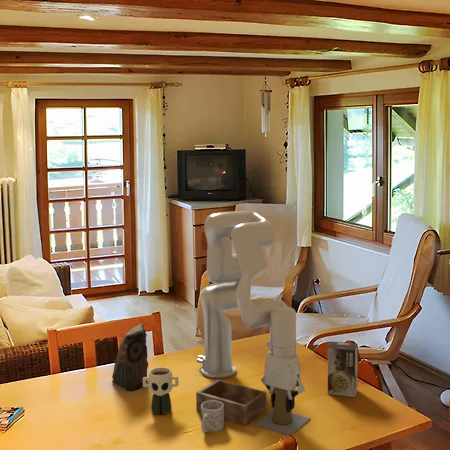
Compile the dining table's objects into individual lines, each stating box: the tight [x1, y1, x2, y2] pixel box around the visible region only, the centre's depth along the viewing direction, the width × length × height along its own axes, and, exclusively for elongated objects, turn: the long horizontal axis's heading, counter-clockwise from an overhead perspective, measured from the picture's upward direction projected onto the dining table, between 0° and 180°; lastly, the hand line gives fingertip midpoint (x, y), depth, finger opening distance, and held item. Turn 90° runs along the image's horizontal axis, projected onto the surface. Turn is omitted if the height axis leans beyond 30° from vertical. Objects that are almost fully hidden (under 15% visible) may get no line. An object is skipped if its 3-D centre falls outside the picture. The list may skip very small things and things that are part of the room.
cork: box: [272, 387, 293, 424], centre depth 188 cm, size 6×6×11 cm
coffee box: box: [327, 340, 359, 398], centre depth 208 cm, size 9×6×16 cm
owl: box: [111, 322, 149, 392], centre depth 216 cm, size 13×13×20 cm
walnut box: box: [195, 378, 268, 427], centre depth 197 cm, size 18×12×6 cm, turn 56°
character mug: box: [142, 366, 179, 415], centre depth 196 cm, size 11×7×13 cm, turn 91°
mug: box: [200, 400, 225, 433], centre depth 185 cm, size 10×7×7 cm
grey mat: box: [254, 410, 311, 437], centre depth 189 cm, size 12×12×1 cm
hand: (282, 407), depth 189 cm, fingers closed on cork, 4 cm apart
